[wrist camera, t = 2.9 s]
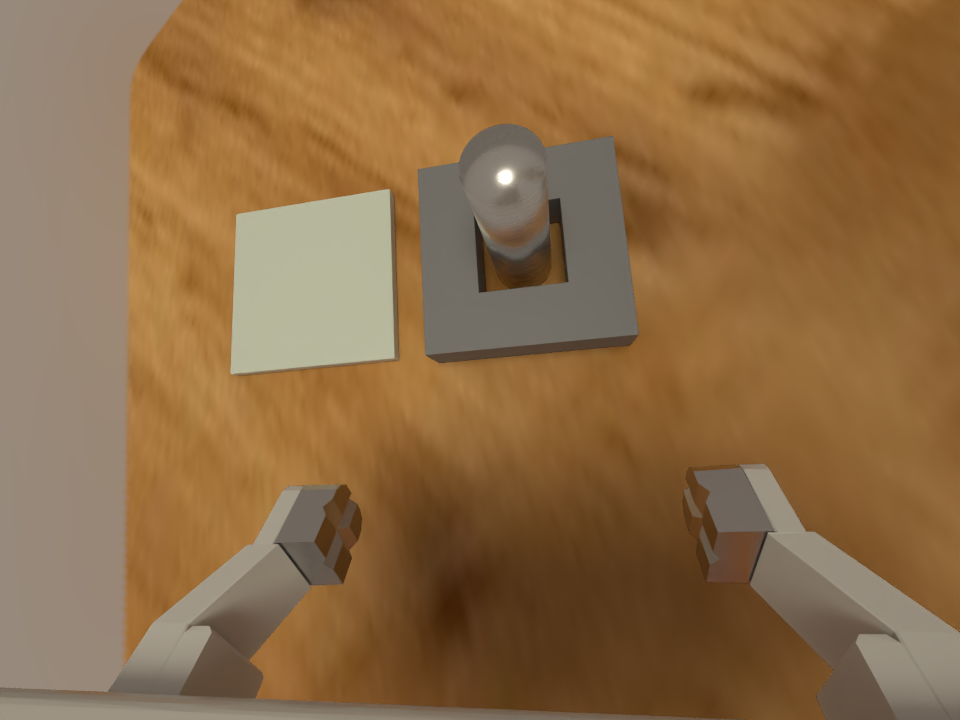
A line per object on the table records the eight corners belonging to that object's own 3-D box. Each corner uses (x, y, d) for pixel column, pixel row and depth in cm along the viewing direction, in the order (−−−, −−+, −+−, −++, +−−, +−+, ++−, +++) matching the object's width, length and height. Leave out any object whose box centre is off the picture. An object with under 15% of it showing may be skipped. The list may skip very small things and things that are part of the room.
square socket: (431, 194, 30) (417, 169, 27) (607, 166, 28) (613, 135, 25) (439, 362, 28) (425, 355, 25) (630, 345, 26) (638, 334, 23)
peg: (510, 230, 29) (481, 113, 18) (560, 250, 28) (561, 138, 17) (487, 278, 29) (444, 188, 18) (536, 299, 28) (522, 217, 17)
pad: (244, 219, 33) (236, 214, 32) (393, 194, 31) (389, 188, 30) (238, 375, 31) (230, 374, 30) (399, 360, 29) (394, 358, 28)
